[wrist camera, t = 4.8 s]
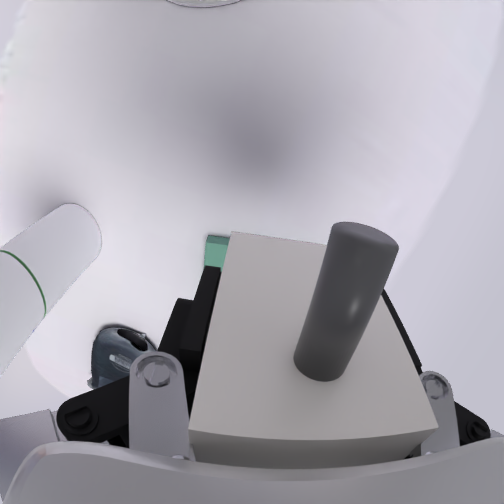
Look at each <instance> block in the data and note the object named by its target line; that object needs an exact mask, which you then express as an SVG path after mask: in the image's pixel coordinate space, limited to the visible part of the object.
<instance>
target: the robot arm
mask: <svg viewBox="0 0 504 504" xmlns="http://www.w3.org/2000/svg"><path fill="white" fill-rule="evenodd" d="M167 1H170V2H173V3H175V4H178V5H184V6H189V7H213V6H221V5H226V4H231V3H235V2H237V1H240V0H201V1H200V0H167ZM221 274H222V272H221V267H215V266H208V265H205V267H204V270H203V273H202V276H201V279H200V282H199V285H198V289H197V292H196V295H195V298H194V300H188V299H182V298H178V299H177V301H176V303H175V306H174V308H173V311H172V314H171V316H170V319H169V321H168V324H167V327H166V329H165V332H164V335H163V337H162V340H161V343H160V345H159V348H158V351H154V352H147V353H145V354H142V355H140V356H139V357H138V358H136V359H135V360H134V362H133V363H132V365H131V369H130V375H129V376H126V377H124V378H121V379H119V380H117V381H114V382H112V383H109V384H107V385H104V386H102V387H99V388H97V389H94V390H92V391H89V392H86V393H84V394H81V395H79V396H76V397H73V398H71V399H69V400H67V401H65V402H64V403H63V404H62V405H61V406H60V407H59V409H58V411H54V412H51V411H50V410H49V409H47V410H43V411H39V412H34V413H30V414H25V415H20V416H15V417H10V418H5V419H1V420H0V494H1V498H2V501H3V504H504V435H502V434H500V433H498V432H496V431H494V430H491V431H490V429H489V427H488V425H487V423H486V422H485V421H484V420H483V419H481V418H480V417H478V416H477V415H475V414H474V413H472V412H470V411H469V410H467V409H466V408H464V407H463V406H461V405H459V404H458V403H456V402H455V401H454V399H453V393H452V388H451V385H450V383H448V380H447V379H446V378H445V377H444V376H442V375H441V374H439V373H436V372H433V371H426V372H422V370H421V366H422V364H421V362H420V360H419V358H418V356H417V354H416V351H415V349H414V347H413V345H412V343H411V341H410V339H409V336H408V334H407V332H406V330H405V328H404V326H403V324H402V322H401V320H400V318H399V316H398V314H397V312H396V310H395V308H394V306H393V305H392V303H391V301H390V299H389V297H388V295H387V293H386V291H385V290H384V289H383V291H382V293H381V296H382V298H383V300H384V302H385V304H386V306H387V308H388V310H389V312H390V314H391V316H392V318H393V320H394V322H395V324H396V326H397V328H398V330H399V332H400V335H401V337H402V339H403V341H404V343H405V345H406V348H407V350H408V352H409V354H410V357H411V359H412V361H413V363H414V366H415V368H416V370H417V373H418V375H419V377H420V380H421V382H422V385H423V387H424V390H425V392H426V395H427V397H428V400H429V402H430V405H431V408H432V410H433V413H434V416H435V418H436V421H437V424H438V427H439V428H438V429H437V430H436V431H435V432H434V433H433V434H431V435H430V436H429V437H428V438H427V439H426V440H425V441H424V442H421V443H420V444H419V445H418V446H416V447H415V448H414V449H413V450H412V451H411V452H410V454H409V455H408V456H407V457H405V458H404V459H403V460H398V461H392V462H386V463H379V464H372V465H363V466H354V467H342V468H326V469H263V468H247V467H236V466H226V465H218V464H210V463H203V462H196V459H195V453H194V447H193V444H191V443H189V435H188V427H189V422H190V417H191V412H192V407H193V402H194V397H195V392H196V387H197V382H198V378H199V373H200V368H201V363H202V359H203V354H204V349H205V345H206V340H207V336H208V331H209V327H210V322H211V318H212V313H213V309H214V304H215V300H216V295H217V291H218V287H219V282H220V278H221Z"/></svg>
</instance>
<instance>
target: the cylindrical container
mask: <svg viewBox="0 0 504 504" xmlns="http://www.w3.org/2000/svg"><path fill="white" fill-rule="evenodd" d="M101 246H102V238H101V233H100V229H99V227H98V225H97V223H96V221H95V219H94V218H93V216H92V215H91V214H90V213H89V212H88V211H87V210H86V209H84V208H83V207H81V206H79V205H76V204H64V205H62V206H60V207H58V208H57V209H55V210H53V211H52V212H50V213H49V214H47V215H46V216H44V217H43V218H41V219H40V220H38V221H37V222H35V223H34V224H33V225H31V226H30V227H28V228H27V229H25V230H24V231H23V232H21V233H20V234H18V235H17V236H16V237H14V238H13V239H12V240H10V241H9V242H8V243H6V244H5V245H4V246H2V247H1V248H0V377H1V376H2V374H3V373H4V371H5V370H6V369H7V367H8V366H9V364H10V363H11V361H12V360H13V359H14V357H15V356H16V354H17V353H18V352H19V350H20V349H21V347H22V346H23V345H24V343H25V342H26V341H27V339H28V338H29V337H30V335H31V334H32V333H33V331H34V330H35V329H36V328H37V326H38V325H39V324H40V322H41V321H42V320H43V319H44V317H45V316H46V315H47V314H48V312H49V311H50V310H51V309H52V308H53V306H54V305H55V304H56V303H57V302H58V300H59V299H60V298H61V297H62V296H63V294H64V293H65V292H66V291H67V290H68V289H69V287H70V286H71V285H72V284H73V283H74V282H75V281H76V280H77V278H78V277H79V276H80V275H81V274H82V273H83V272H84V271H85V269H86V268H87V267H88V266H89V265H90V264H91V263H92V262H93V261H94V260H95V259H96V257H97V256H98V255H99V253H100V250H101Z"/></svg>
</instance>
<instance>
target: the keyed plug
mask: <svg viewBox="0 0 504 504" xmlns="http://www.w3.org/2000/svg"><path fill="white" fill-rule="evenodd" d="M398 250H399V246H398V244H397V243H396V242H395V240H394V239H392V238H391V237H390V236H388V235H387V234H385V233H383V232H382V231H380V230H377V229H375V228H373V227H370V226H367V225H363V224H359V223H354V222H339V223H335V224H334V225H333V226H332V229H331V233H330V236H329V240H328V244H327V245H323V244H316V243H309V242H303V241H296V240H289V239H282V238H275V237H268V236H261V235H254V234H247V233H240V232H231V236H230V240H229V244H228V248H227V253H226V257H225V261H224V265H223V269H222V274H221V278H220V282H219V287H218V291H217V295H216V300H215V304H214V309H213V313H212V318H211V322H210V327H209V331H208V336H207V340H206V345H205V349H204V354H203V359H202V363H201V368H200V373H199V378H198V382H197V387H196V392H195V397H194V402H193V407H192V412H191V417H190V422H189V427H188V435H189V443H191V444H193V447H194V453H195V459H196V462H203V463H210V464H218V465H226V466H236V467H247V468H263V469H326V468H342V467H354V466H363V465H372V464H379V463H386V462H392V461H398V460H403V459H404V458H405V457H407V456H408V455H409V454H410V452H411V451H412V450H413V449H414V448H415V447H416V446H418V445H419V444H420V443H421V442H424V441H425V440H426V439H427V438H428V437H429V436H430V435H431V434H433V433H434V432H435V431H436V430H437V429H438V428H439V427H438V424H437V421H436V418H435V416H434V413H433V410H432V408H431V405H430V402H429V400H428V397H427V395H426V392H425V390H424V387H423V385H422V382H421V380H420V377H419V375H418V373H417V370H416V368H415V366H414V363H413V361H412V359H411V357H410V354H409V352H408V350H407V348H406V345H405V343H404V341H403V339H402V337H401V335H400V332H399V330H398V328H397V326H396V324H395V322H394V320H393V318H392V316H391V314H390V312H389V310H388V308H387V306H386V304H385V302H384V300H383V298H382V296H381V293H382V291H383V289H384V286H385V284H386V281H387V279H388V276H389V274H390V271H391V269H392V266H393V263H394V261H395V258H396V255H397V253H398Z"/></svg>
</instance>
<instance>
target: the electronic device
mask: <svg viewBox="0 0 504 504" xmlns="http://www.w3.org/2000/svg"><path fill="white" fill-rule="evenodd" d="M118 329H124V328H107V329H104V330H102V331H100V333H99V335H97V337H96V339H95V340H94V342H93V348H92V357H91V358H92V359H91V372H92V378H91V379H89V380H87V382H88V384H87V385H88V386H89V387H90V388H92V389H97V388H99V387H102V386H104V385H107V384H109V383H112V382H114V381H117V380H119V379H121V378H124V377H126V376H129V375H130V369H131V365H132V363H133V362H134V360H135V359H136V358H138V357H139V356H140V355H142V354H145V353H147V352H154V351H155V349H154V348H153V346H152V345H151V344H150V343H149V342H148V341H147V340H145V341H146V343H147V345H148V350H147V351H145V352H144V351H142V349H140V348H139V347H140V346H138V345H136V344H135V343H134V342H132V341H129V340H127V339H125V338H123V337H121V336H119V335H118V334H117V330H118ZM124 330H128V329H124ZM128 331H131V330H128ZM131 332H133V333H135V334H137V335H139V336H141V337H142V338H143V339H145V334H138V333H137V332H135V331H131Z"/></svg>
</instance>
